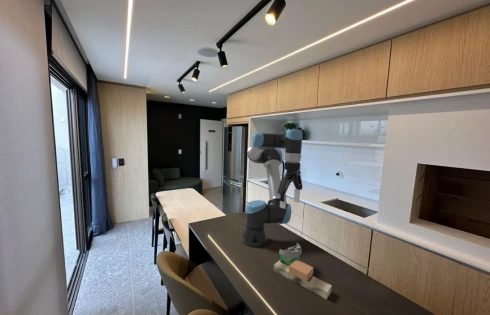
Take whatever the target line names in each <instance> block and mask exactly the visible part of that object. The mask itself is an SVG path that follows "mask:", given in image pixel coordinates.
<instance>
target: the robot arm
mask: <svg viewBox="0 0 490 315" xmlns="http://www.w3.org/2000/svg"><path fill="white" fill-rule="evenodd" d="M285 132H286V133H268V132H267V133H266V132H255V133H253V134H252V138H251V140H252V143H251V146H249V148H248V150H247V152H246V156H247V157H248V159H249V160H250V161H251V162H252V163H255V164H263V166H264V168H265V170H266V178H267V187H268V195H269V199H268V201H267V202H266V201H265V200H260V199H256V200H252V201H249V202H248V203H247V204H246V207H245V226H244V229H243V233H242V235H241V241H242V243H243V244H244V245H247V246H249V247H252V248H253V247H257V248H258V247H262V246H265V245H267V243H268V236H267V231H266V225H285V224H289V222H290V221H291V217H292V206H291V204H290V203H287V192H288V189H289V188H290V184H291V183H292V182H293V185H294V190H293V191H294V192H293V202H294V203H300V195H301V191H302V190H303V181H302V177H301V176H302V175H301V172H302V171H301V158H302V148H303V146H302V145H303V138H304V137H303V131H302V130H301V129H293V128H292V129H287V130H286V131H285ZM281 149H284V150H285V151H284V161H285V162H284V166H283V167H284V168H283V169H284V170H285V172H282V173H281V174H280V172H281V171H280V167H281V164H282V162H283V153H282V151H281Z"/></svg>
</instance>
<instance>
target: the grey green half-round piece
mask: <svg viewBox="0 0 490 315" xmlns="http://www.w3.org/2000/svg"><path fill="white" fill-rule="evenodd" d="M278 254H279V260H280V262H281V263H283V264H286V265H291V264H292V263H293V262H294V261H295V260H298V261H300V258H301V255H302V247H301V245H300V244H299V243H298V242H296V244H295V245H292V246H288V247H286V248H284V249H281V248H279V251H278Z"/></svg>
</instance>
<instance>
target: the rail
mask: <svg viewBox="0 0 490 315" xmlns="http://www.w3.org/2000/svg"><path fill="white" fill-rule="evenodd" d="M289 266H290V265H286V264H283V263H281V262H280V259H279V260H278V261H276V263H274V264H273V271H274V272H276V273H277V274H279V275H282V276H283V277H284V276H285V278H286V279H288V280H289V281H291V282H294V283H295V284H296V285H297V284H298V285H299V286H300V287H303V288H304V289H306V290H308V291H310V292H312V293H313V294H315V295H318V296H320V297H322V299H323V298H324V300H328V298H329V296H330V295H331V293H332V287H333V286H332V285H333V284H332V285H331V284H330V283H327V282H325V281H323V280H321V278H317V277H315V276H313V275H312V276H311V277H310V281H304V280H302V279H300V278H298V277H296V276H294V275H293V274H291V273H289Z"/></svg>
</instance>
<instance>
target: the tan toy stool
mask: <svg viewBox="0 0 490 315" xmlns="http://www.w3.org/2000/svg"><path fill="white" fill-rule="evenodd" d="M289 273H291V274H293V275H294V276H296V277H298V278H300V279H302V280H304V281H310V277H311V276H313V275H314V267H313V266H311V265H309V264H308V263H305V262H303V261H301V260H299V261H298V260H295V261H294V262H293V263H292V264H291V265H290V266H289Z"/></svg>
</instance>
